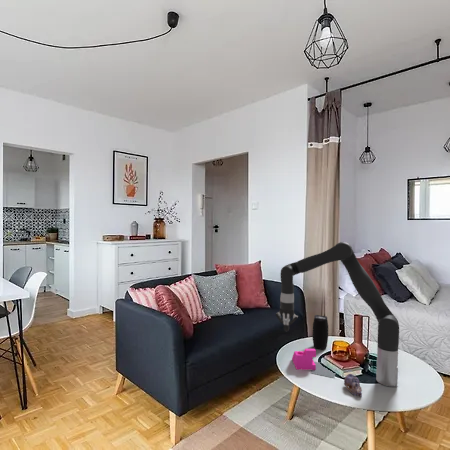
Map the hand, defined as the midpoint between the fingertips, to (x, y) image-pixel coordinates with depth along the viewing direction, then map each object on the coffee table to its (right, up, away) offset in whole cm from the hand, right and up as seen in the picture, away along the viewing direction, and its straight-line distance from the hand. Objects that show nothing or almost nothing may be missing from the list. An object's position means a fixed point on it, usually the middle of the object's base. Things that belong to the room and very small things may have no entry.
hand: (286, 331), depth 180 cm
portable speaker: (+25, -17, +20) cm, 36 cm away
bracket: (+9, -18, -4) cm, 20 cm away
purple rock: (+26, -19, -29) cm, 44 cm away
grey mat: (+18, -18, -9) cm, 27 cm away
